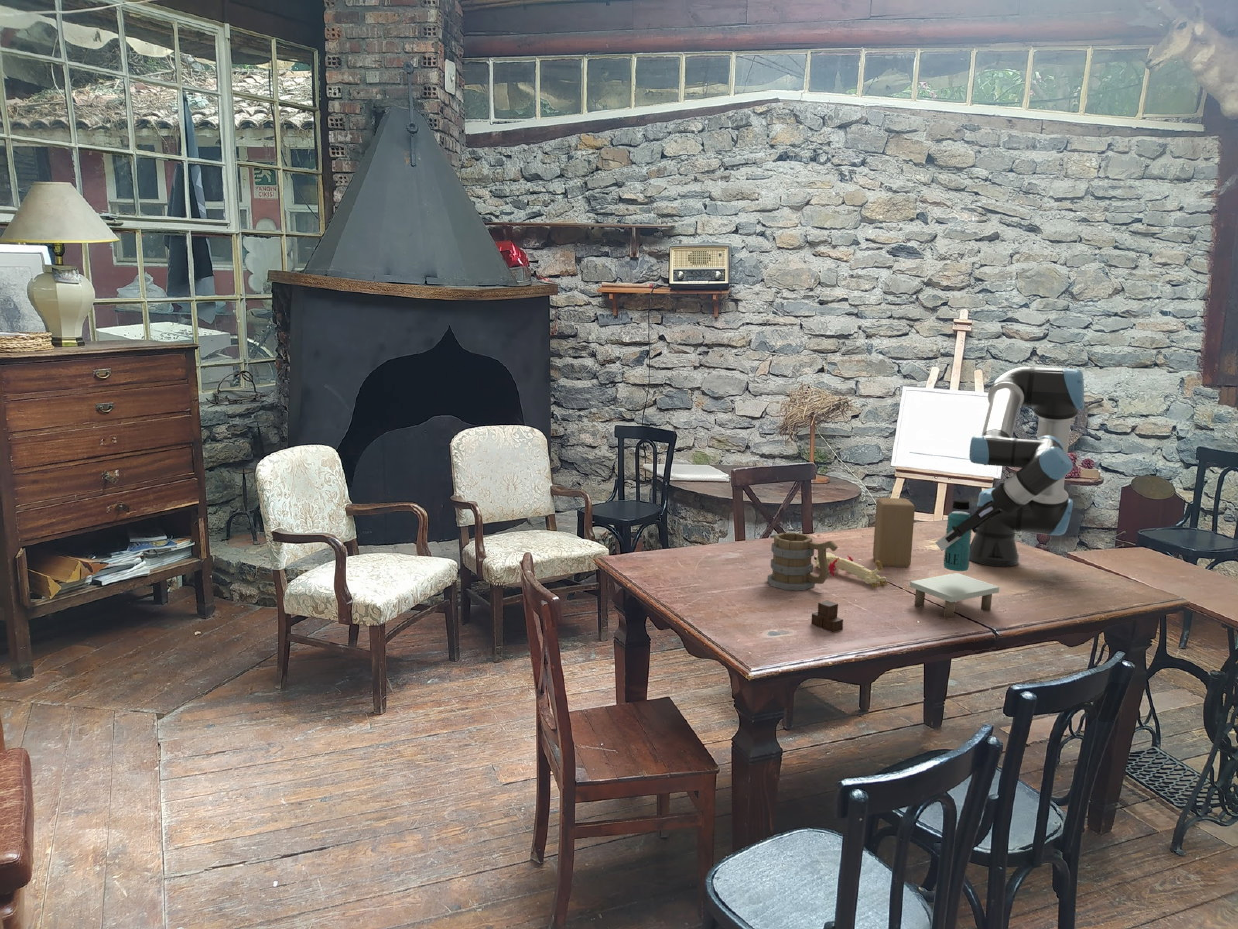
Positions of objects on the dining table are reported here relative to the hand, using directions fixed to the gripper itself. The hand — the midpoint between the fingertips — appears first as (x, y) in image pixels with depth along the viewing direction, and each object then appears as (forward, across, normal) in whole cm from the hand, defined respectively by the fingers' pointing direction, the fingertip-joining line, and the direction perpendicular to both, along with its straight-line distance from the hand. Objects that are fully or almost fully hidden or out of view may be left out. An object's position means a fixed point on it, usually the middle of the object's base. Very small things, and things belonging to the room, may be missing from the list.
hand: (944, 543), depth 236 cm
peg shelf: (+10, 0, +14) cm, 17 cm away
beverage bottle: (+3, 0, +8) cm, 8 cm away
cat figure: (+34, -6, -9) cm, 36 cm away
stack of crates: (+23, +35, +3) cm, 42 cm away
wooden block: (+31, -28, -7) cm, 42 cm away
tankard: (+37, +12, -13) cm, 41 cm away
